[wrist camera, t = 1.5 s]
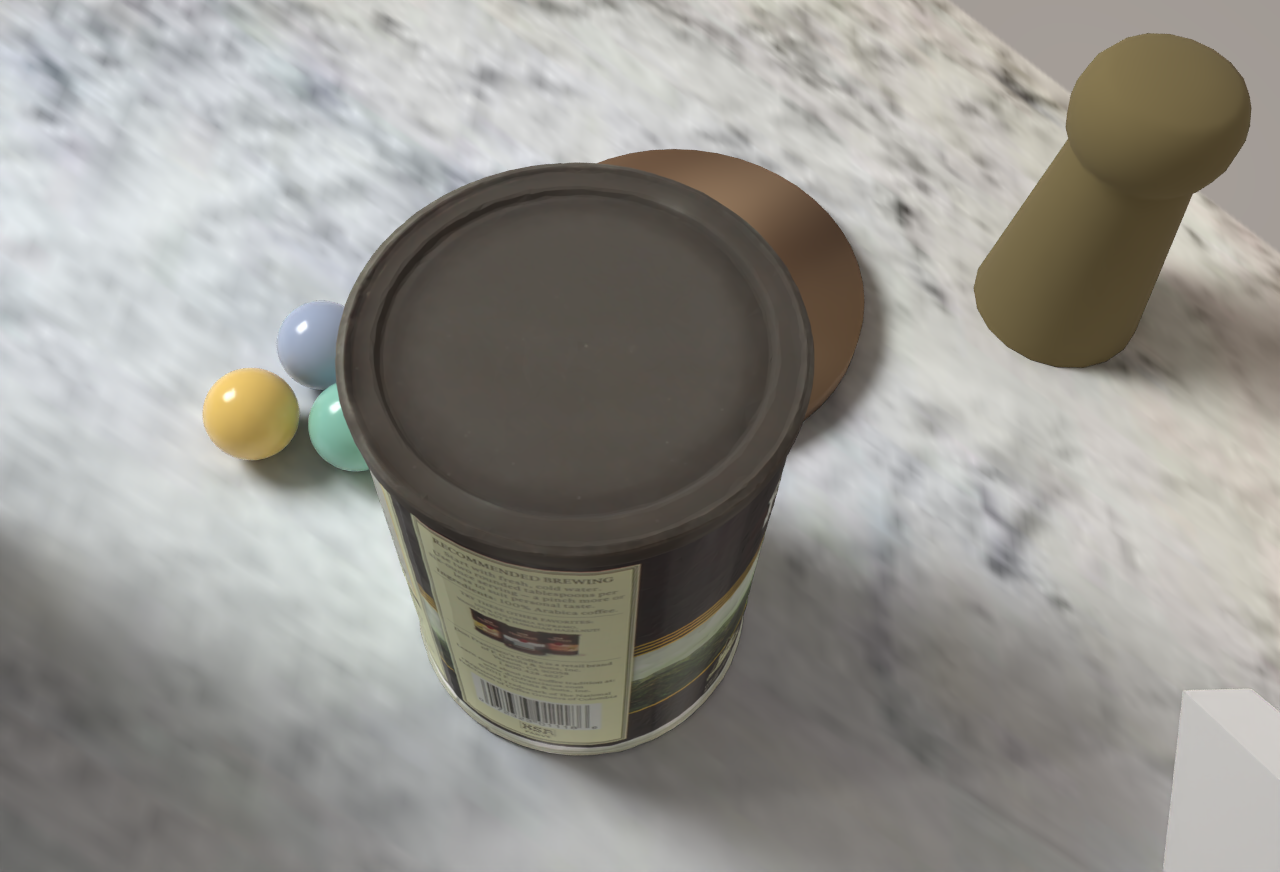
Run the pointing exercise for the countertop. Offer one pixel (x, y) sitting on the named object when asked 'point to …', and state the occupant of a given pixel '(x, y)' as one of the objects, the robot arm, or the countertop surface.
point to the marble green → (333, 433)
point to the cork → (1112, 199)
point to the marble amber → (251, 414)
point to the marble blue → (310, 343)
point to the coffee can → (576, 440)
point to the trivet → (782, 246)
